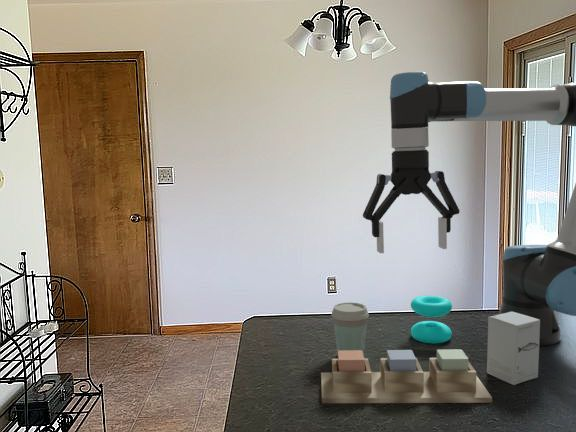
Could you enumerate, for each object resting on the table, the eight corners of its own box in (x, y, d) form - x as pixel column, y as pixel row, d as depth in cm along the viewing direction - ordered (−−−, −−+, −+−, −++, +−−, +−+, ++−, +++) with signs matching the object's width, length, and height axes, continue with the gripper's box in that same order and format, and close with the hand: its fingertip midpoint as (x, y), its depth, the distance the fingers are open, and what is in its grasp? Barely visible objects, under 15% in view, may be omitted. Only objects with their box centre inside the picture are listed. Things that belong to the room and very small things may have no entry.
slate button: (411, 368, 112) (411, 349, 111) (416, 378, 107) (416, 359, 106) (387, 368, 112) (387, 350, 112) (390, 379, 107) (390, 359, 107)
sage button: (461, 368, 111) (461, 349, 111) (468, 378, 106) (468, 358, 106) (436, 368, 112) (436, 349, 111) (442, 378, 107) (442, 359, 106)
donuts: (449, 294, 141) (454, 305, 131) (448, 331, 142) (454, 345, 132) (409, 293, 142) (412, 305, 133) (409, 330, 144) (412, 344, 134)
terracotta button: (362, 369, 112) (362, 350, 112) (364, 379, 107) (364, 359, 107) (338, 369, 113) (337, 350, 112) (339, 379, 108) (338, 360, 107)
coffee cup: (368, 365, 122) (367, 313, 121) (330, 363, 124) (329, 311, 122) (370, 351, 131) (369, 302, 129) (334, 349, 132) (333, 301, 131)
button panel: (473, 375, 115) (473, 353, 114) (492, 402, 103) (492, 377, 103) (321, 377, 117) (320, 354, 116) (322, 403, 105) (321, 378, 104)
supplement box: (514, 386, 110) (516, 325, 108) (485, 373, 116) (486, 315, 115) (539, 378, 113) (541, 319, 112) (510, 366, 120) (511, 310, 118)
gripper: (460, 146, 118) (460, 243, 121) (347, 152, 116) (350, 250, 119) (475, 146, 111) (475, 249, 114) (354, 152, 109) (358, 257, 111)
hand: (411, 250), depth 116 cm, fingers open, 13 cm apart
